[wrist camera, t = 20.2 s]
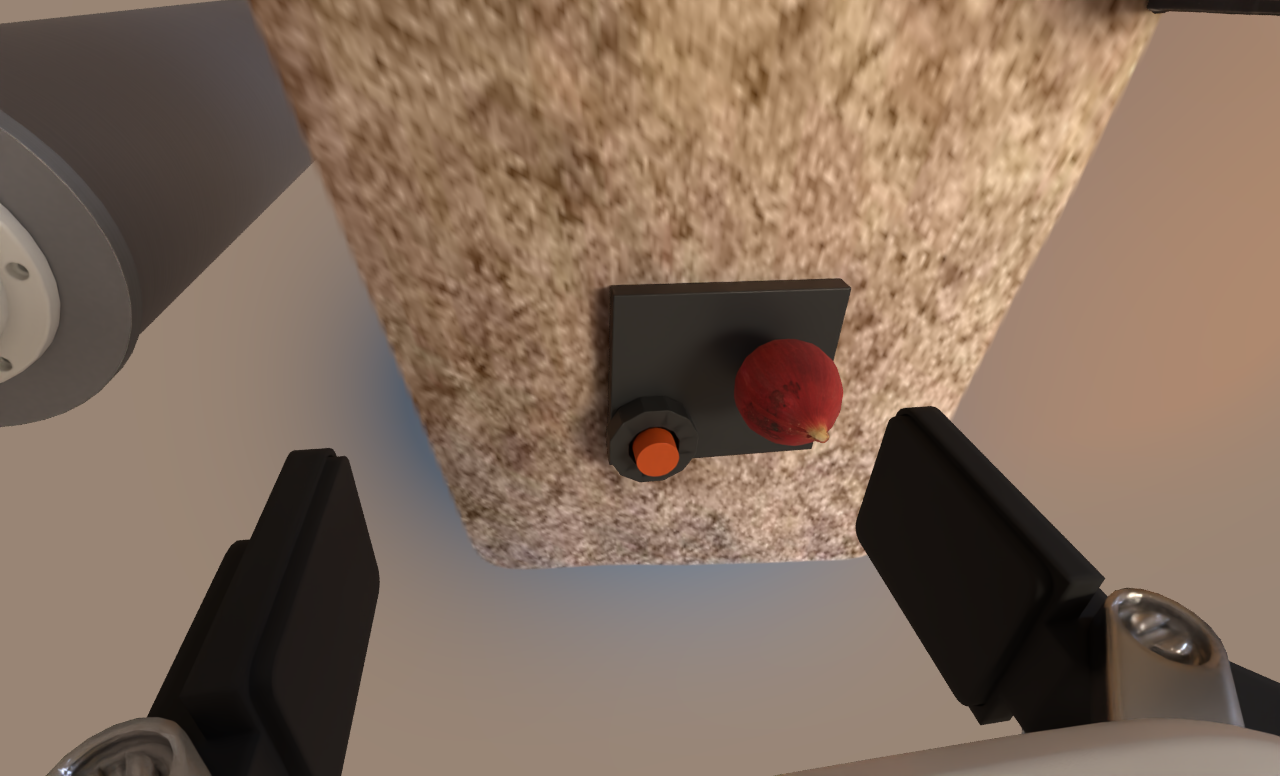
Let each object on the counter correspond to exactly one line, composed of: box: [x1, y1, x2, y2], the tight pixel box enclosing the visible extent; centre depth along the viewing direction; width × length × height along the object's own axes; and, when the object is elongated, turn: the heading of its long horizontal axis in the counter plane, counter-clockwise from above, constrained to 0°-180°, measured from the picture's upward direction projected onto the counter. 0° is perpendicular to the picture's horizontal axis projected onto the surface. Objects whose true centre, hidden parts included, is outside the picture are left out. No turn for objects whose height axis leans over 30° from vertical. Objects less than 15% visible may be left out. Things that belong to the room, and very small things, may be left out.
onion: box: [734, 339, 843, 446], centre depth 35 cm, size 6×6×8 cm
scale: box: [606, 279, 851, 482], centre depth 39 cm, size 14×12×3 cm
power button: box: [632, 428, 679, 476], centre depth 38 cm, size 3×3×2 cm
